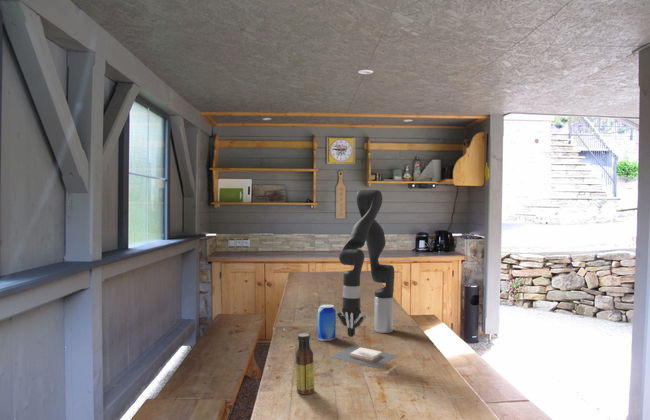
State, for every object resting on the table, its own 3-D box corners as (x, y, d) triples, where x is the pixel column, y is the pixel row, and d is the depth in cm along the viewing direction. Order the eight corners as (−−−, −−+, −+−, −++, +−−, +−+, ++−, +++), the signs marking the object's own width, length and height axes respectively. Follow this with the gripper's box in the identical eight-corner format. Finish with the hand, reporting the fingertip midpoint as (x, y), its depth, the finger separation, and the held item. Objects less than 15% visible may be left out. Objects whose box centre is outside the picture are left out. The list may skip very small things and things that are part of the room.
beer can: (320, 342, 212) (320, 308, 212) (315, 337, 220) (315, 304, 220) (337, 341, 215) (338, 307, 214) (332, 336, 223) (332, 303, 222)
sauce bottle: (314, 387, 163) (314, 331, 162) (314, 395, 156) (314, 337, 156) (295, 388, 162) (295, 331, 162) (295, 395, 156) (295, 337, 156)
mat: (351, 347, 207) (351, 345, 207) (396, 356, 195) (396, 355, 195) (329, 358, 192) (329, 357, 192) (377, 369, 180) (377, 368, 180)
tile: (360, 347, 199) (381, 351, 194) (360, 351, 199) (381, 355, 194) (350, 353, 192) (371, 357, 186) (350, 357, 192) (371, 362, 186)
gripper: (369, 296, 196) (369, 336, 196) (342, 292, 203) (342, 331, 203) (361, 299, 189) (361, 341, 190) (333, 295, 196) (333, 336, 197)
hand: (351, 336), depth 196 cm, fingers closed
